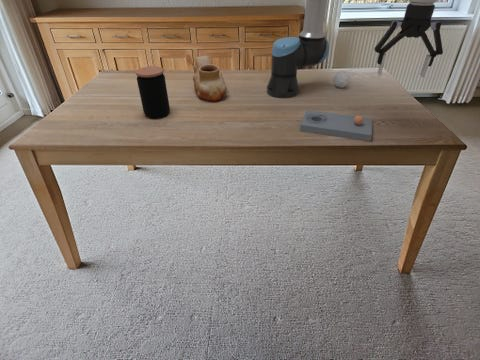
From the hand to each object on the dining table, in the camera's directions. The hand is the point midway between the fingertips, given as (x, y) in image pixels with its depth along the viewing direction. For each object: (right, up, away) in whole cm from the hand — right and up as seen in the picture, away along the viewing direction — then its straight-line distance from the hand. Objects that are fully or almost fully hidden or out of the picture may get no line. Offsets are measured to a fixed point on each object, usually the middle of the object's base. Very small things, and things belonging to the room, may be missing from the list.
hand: (400, 75), depth 104 cm
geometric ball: (-5, +10, +47) cm, 48 cm away
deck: (-18, -16, +13) cm, 27 cm away
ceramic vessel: (-69, +6, +43) cm, 82 cm away
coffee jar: (-89, -8, +24) cm, 93 cm away
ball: (-11, -14, +8) cm, 20 cm away
